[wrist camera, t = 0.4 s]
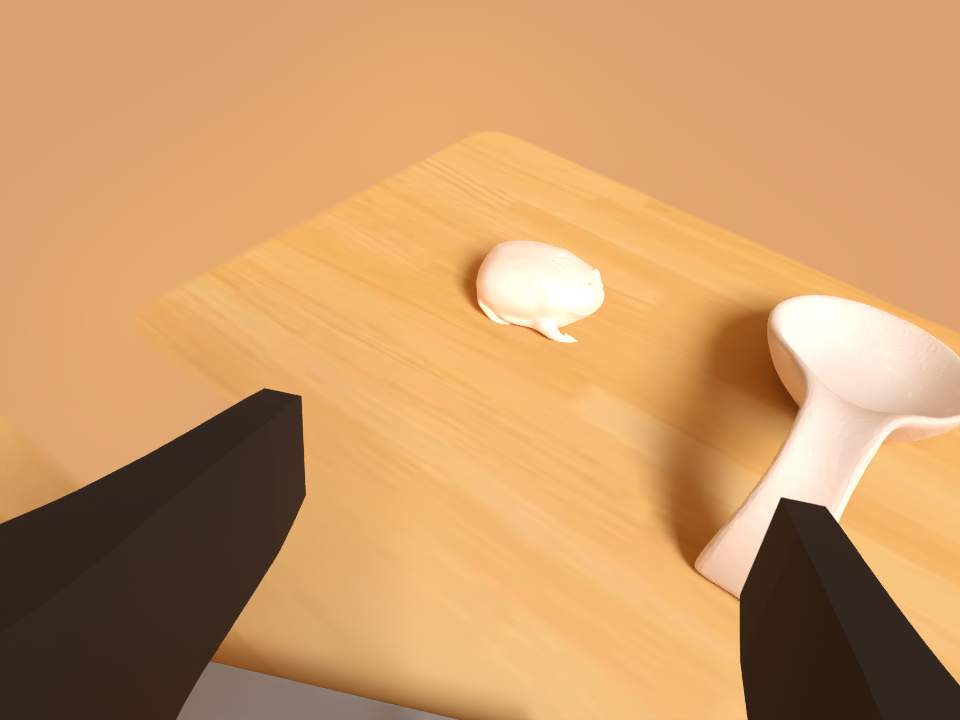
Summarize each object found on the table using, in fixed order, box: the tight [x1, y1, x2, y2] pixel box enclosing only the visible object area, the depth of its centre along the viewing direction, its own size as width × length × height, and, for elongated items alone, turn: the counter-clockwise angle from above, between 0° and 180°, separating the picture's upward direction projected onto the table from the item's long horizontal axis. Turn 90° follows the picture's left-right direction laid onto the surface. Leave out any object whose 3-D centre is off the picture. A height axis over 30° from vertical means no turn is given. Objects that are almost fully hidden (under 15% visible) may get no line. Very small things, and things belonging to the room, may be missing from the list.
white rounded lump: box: [476, 240, 604, 342], centre depth 46 cm, size 8×7×4 cm
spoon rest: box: [694, 295, 960, 599], centre depth 38 cm, size 24×12×7 cm, turn 145°
